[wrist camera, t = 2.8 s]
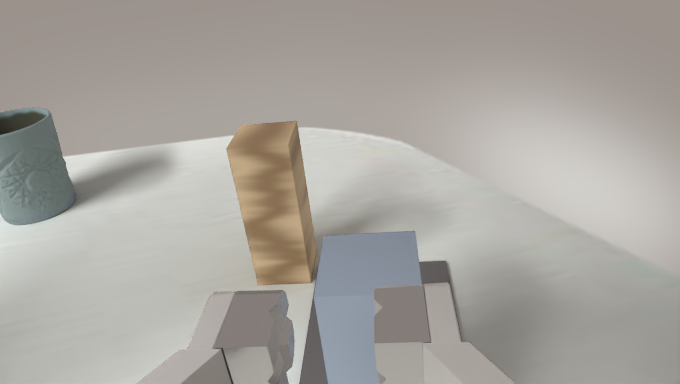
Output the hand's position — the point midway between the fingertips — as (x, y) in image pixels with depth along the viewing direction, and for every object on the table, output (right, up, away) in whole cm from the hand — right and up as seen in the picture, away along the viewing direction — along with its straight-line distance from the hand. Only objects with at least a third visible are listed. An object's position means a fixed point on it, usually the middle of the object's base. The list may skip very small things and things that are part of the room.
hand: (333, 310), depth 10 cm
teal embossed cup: (-39, 0, +54) cm, 67 cm away
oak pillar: (-5, -5, +38) cm, 38 cm away
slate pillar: (+3, -13, +21) cm, 25 cm away
